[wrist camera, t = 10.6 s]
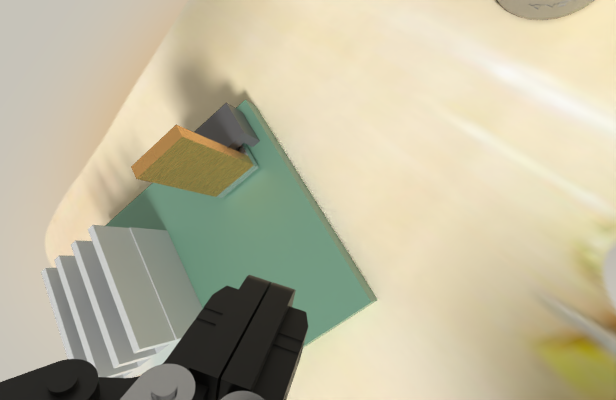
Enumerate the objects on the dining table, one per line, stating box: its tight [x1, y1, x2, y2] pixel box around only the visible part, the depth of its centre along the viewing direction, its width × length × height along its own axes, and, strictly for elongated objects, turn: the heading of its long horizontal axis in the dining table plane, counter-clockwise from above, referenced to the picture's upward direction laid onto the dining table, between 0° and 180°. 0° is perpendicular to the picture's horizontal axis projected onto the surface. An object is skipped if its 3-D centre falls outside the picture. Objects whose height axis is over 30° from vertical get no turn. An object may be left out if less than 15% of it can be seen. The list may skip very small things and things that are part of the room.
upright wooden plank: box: [131, 125, 259, 198], centre depth 36 cm, size 6×5×11 cm
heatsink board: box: [41, 100, 377, 378], centre depth 37 cm, size 24×24×11 cm
